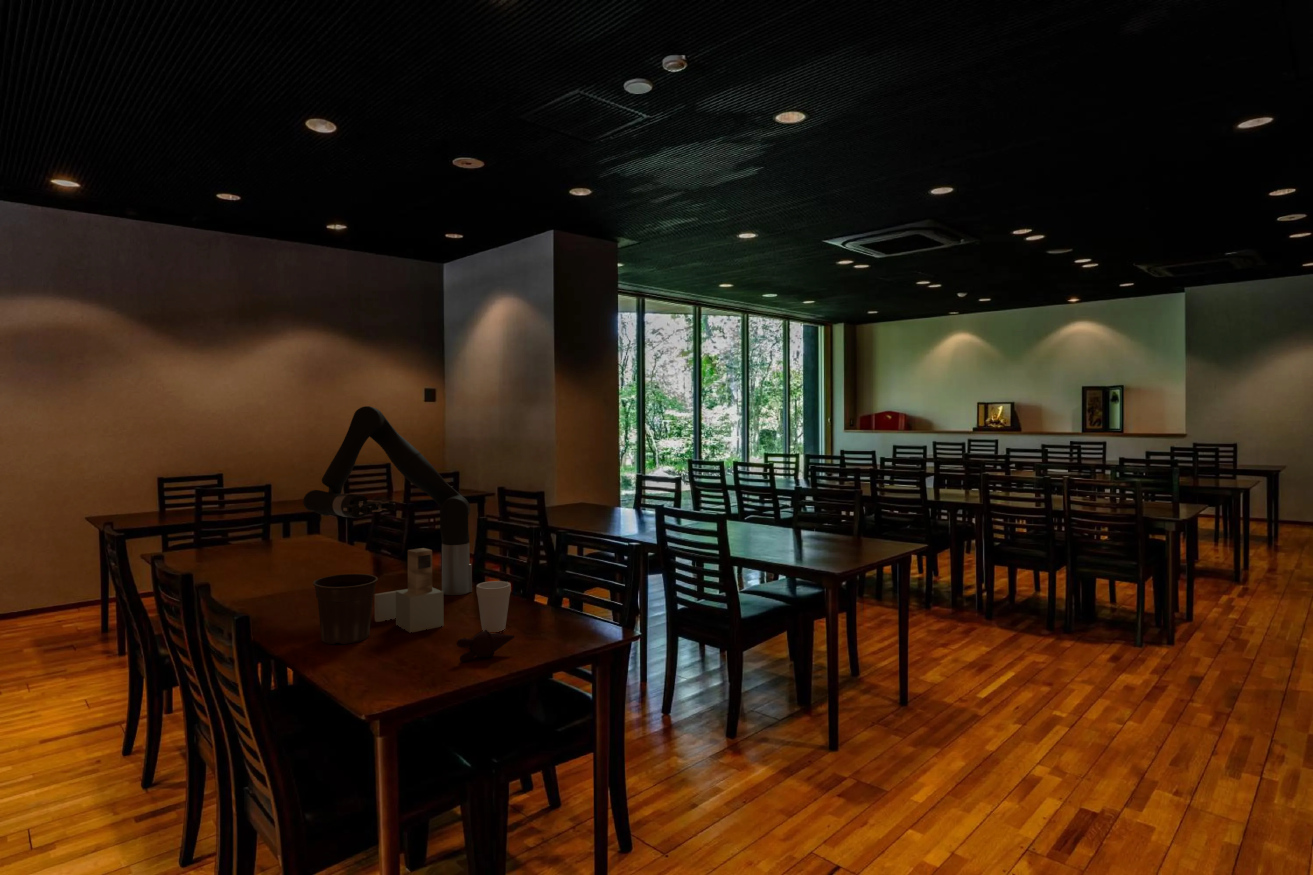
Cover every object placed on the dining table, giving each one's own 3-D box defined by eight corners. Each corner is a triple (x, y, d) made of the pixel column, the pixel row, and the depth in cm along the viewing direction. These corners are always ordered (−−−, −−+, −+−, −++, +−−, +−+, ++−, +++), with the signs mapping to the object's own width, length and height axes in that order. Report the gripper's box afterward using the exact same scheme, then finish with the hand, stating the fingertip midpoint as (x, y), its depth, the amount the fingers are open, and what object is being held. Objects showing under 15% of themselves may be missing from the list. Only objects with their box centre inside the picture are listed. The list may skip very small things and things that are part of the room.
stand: (428, 618, 216) (428, 585, 215) (443, 626, 208) (443, 591, 208) (395, 625, 209) (395, 590, 209) (410, 632, 202) (409, 597, 201)
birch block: (423, 588, 212) (423, 547, 212) (432, 591, 209) (432, 550, 208) (407, 591, 209) (407, 550, 208) (416, 594, 205) (416, 552, 205)
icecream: (506, 622, 190) (451, 637, 181) (517, 622, 184) (460, 637, 175) (511, 649, 189) (455, 665, 180) (522, 649, 183) (465, 666, 174)
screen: (426, 611, 224) (426, 585, 224) (429, 612, 223) (428, 586, 222) (374, 620, 213) (374, 593, 213) (377, 622, 212) (377, 595, 212)
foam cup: (506, 635, 200) (506, 589, 199) (472, 634, 200) (472, 588, 200) (513, 625, 209) (513, 581, 209) (481, 625, 209) (481, 580, 209)
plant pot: (390, 635, 199) (390, 577, 199) (338, 651, 185) (338, 589, 185) (352, 626, 207) (352, 571, 207) (300, 641, 194) (300, 581, 193)
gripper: (330, 496, 224) (362, 498, 216) (369, 491, 236) (402, 494, 228) (330, 520, 224) (363, 523, 216) (370, 514, 236) (402, 517, 228)
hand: (383, 508), depth 222 cm, fingers open, 8 cm apart
